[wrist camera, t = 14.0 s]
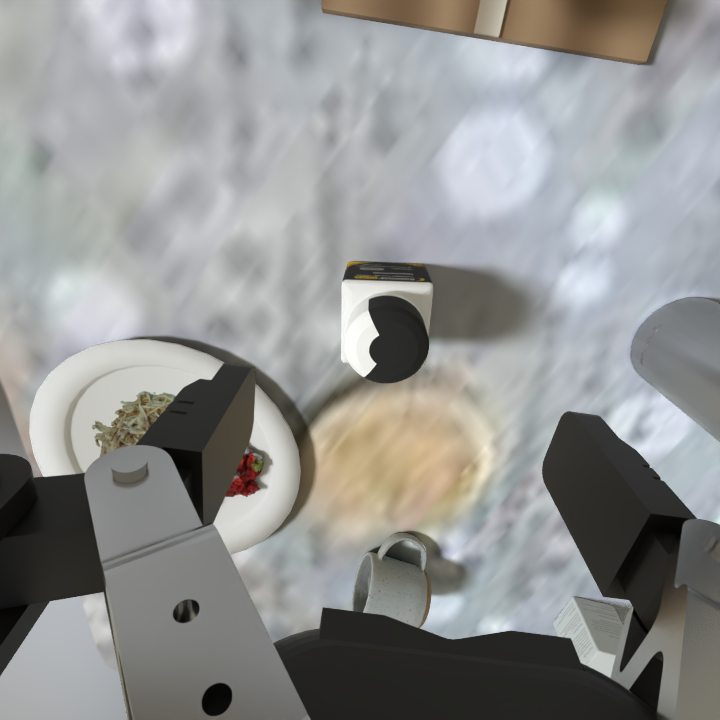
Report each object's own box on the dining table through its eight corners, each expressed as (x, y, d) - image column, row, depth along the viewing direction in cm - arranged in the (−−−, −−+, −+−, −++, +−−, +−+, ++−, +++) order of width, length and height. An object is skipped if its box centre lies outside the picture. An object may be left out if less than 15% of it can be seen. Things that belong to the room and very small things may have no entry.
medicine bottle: (425, 263, 40) (443, 303, 29) (418, 335, 43) (432, 396, 32) (347, 260, 40) (336, 299, 29) (346, 332, 43) (335, 392, 32)
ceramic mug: (409, 592, 58) (415, 650, 51) (352, 578, 58) (349, 635, 51) (439, 537, 54) (449, 592, 47) (377, 521, 53) (378, 575, 46)
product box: (590, 632, 61) (617, 690, 54) (550, 622, 60) (572, 680, 54) (613, 604, 58) (644, 662, 52) (572, 594, 58) (598, 651, 51)
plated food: (-16, 380, 47) (-43, 396, 44) (232, 294, 42) (221, 305, 39) (132, 567, 58) (118, 589, 55) (340, 517, 53) (337, 539, 50)
